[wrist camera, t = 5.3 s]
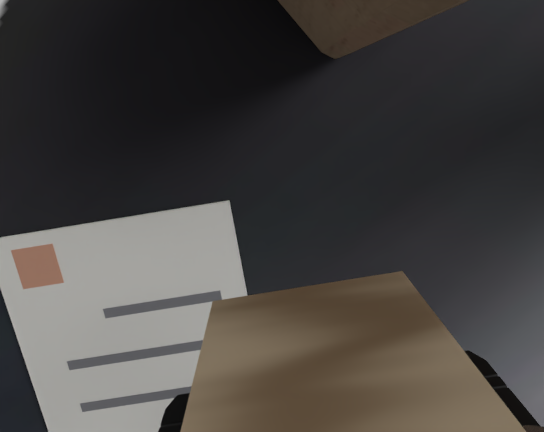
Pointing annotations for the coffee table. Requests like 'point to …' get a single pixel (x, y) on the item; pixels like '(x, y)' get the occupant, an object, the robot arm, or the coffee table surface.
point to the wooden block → (359, 20)
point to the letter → (118, 311)
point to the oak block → (338, 365)
